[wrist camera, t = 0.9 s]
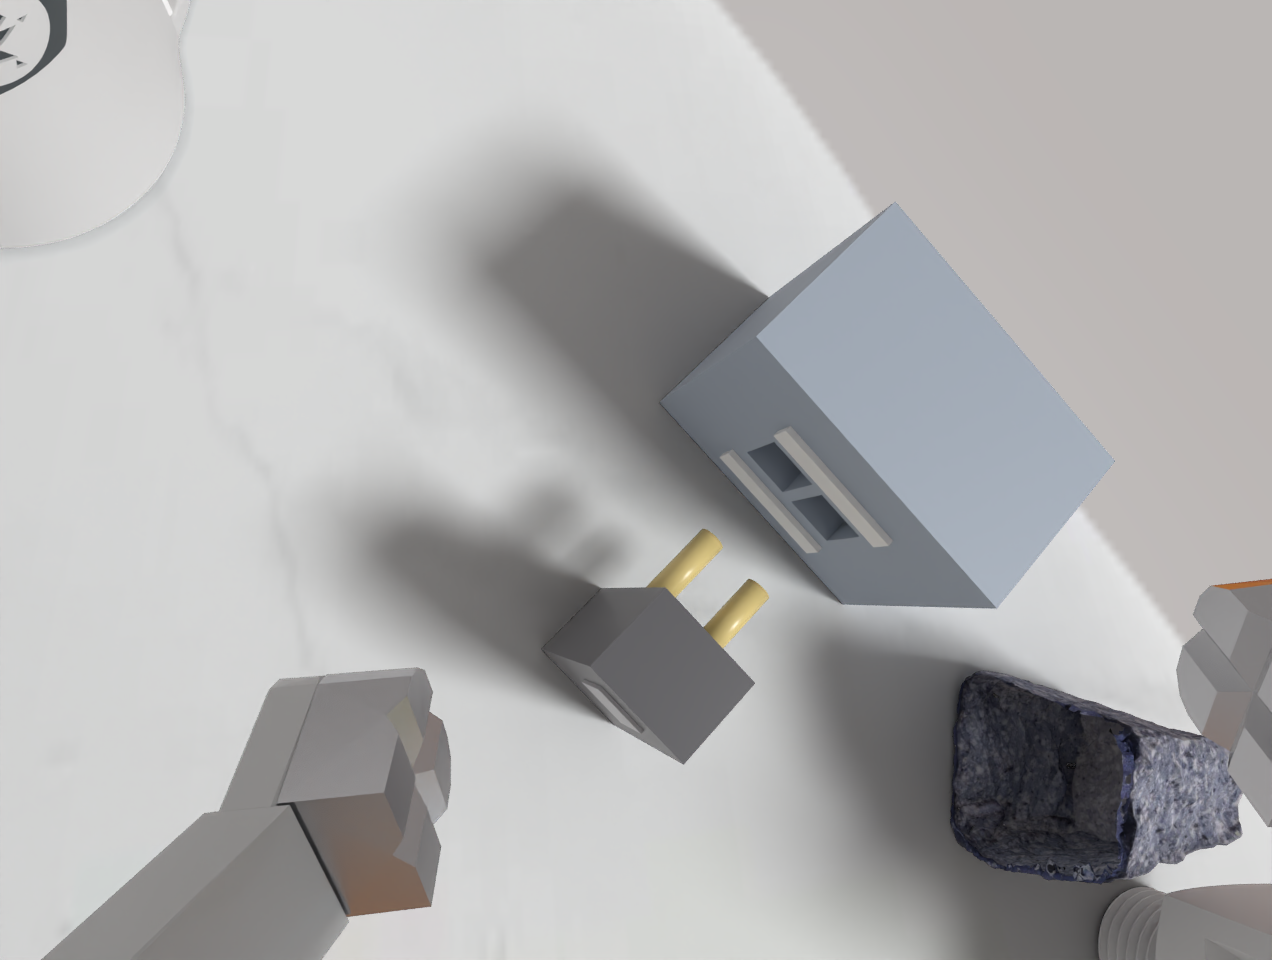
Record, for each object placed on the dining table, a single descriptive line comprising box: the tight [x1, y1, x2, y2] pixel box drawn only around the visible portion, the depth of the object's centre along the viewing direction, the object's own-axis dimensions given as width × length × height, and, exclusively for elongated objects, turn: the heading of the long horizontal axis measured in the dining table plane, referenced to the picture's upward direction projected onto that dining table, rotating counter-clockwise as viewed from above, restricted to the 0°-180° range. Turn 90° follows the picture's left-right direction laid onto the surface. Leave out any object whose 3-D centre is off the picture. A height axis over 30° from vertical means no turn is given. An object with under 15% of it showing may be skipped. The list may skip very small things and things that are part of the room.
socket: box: [659, 202, 1115, 608], centre depth 41 cm, size 14×9×12 cm, turn 44°
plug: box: [542, 529, 769, 764], centre depth 38 cm, size 5×8×10 cm, turn 134°
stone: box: [950, 671, 1243, 884], centre depth 43 cm, size 12×10×10 cm
